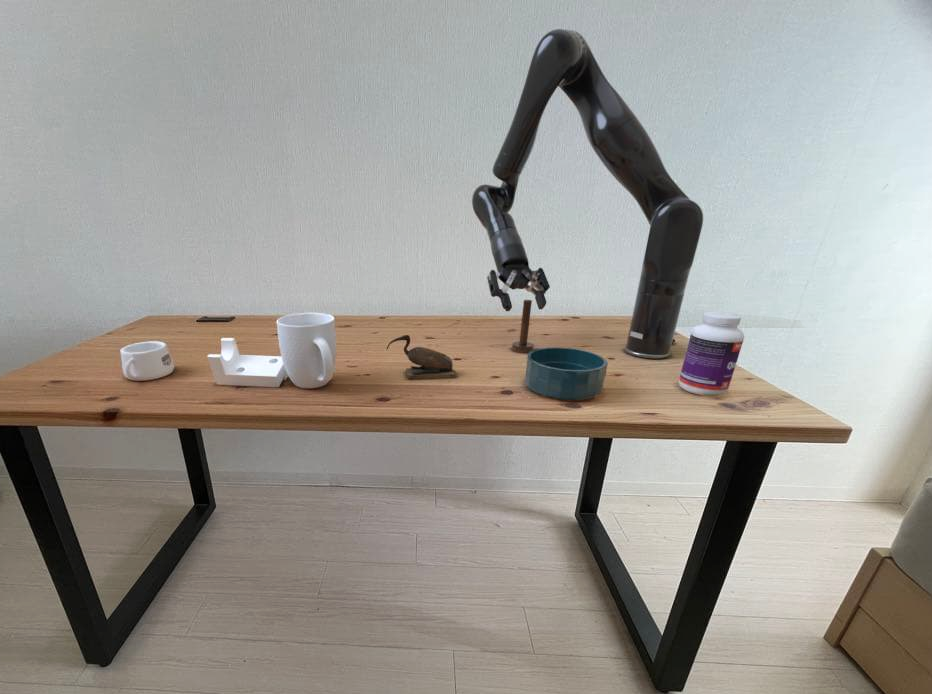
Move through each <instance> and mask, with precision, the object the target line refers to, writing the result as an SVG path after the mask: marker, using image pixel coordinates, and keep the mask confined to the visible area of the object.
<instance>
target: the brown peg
mask: <svg viewBox="0 0 932 694" xmlns="http://www.w3.org/2000/svg"><path fill="white" fill-rule="evenodd" d="M532 303H533V300H531V299H523V305H522V312H521V313H522V314H521V323H520V333H519V340H518V341H514V342H512V343H511V351H512V352H515V353H517V354H528V353H529V352H530V351H533V350H534V346H535V345H534V343H533V342H530V341H528V339H529V329H530V321H531V311H532Z"/></svg>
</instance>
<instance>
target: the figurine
mask: <svg viewBox="0 0 932 694" xmlns="http://www.w3.org/2000/svg"><path fill="white" fill-rule="evenodd" d="M399 341H406V343H405V345H404V347H403V352H404V354H405V356H406V357H407V359H408V360H409V362H410V363H412V364H414V366H412V365H411V366H410V367H407V368H405V373H406V376H407V378H408V379H407V380H422V379H423V380H424V379H425V380H426V379H427V380H428V379H452V378H456V373H455V372H454V369H453V365H454V364H453V360H452V359H451V357H449V356H448V355H446V354H445V353H442V352H440V351H437V350H434V349H430V348H428V347H423V346H416V347H413V348H410V350H408V347H409V346H410V344H411V337H410V335H409V334H404V335H402V336H399V337H397V338H394V339H393V340H391V341H389V343H388V345H387V346H386V350H389V347H390V346H391V345H392V344H393V343H395V342H399ZM415 365H417V366H415Z"/></svg>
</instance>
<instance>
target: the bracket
mask: <svg viewBox="0 0 932 694" xmlns="http://www.w3.org/2000/svg"><path fill="white" fill-rule="evenodd" d="M220 344H221V351H220V354H216V353H208V355H207V356H206V358H207V361H208V365H209V367H210V369H211V372H212V375H213V378H214V381H215V384H216V385H217V386H219V385H220V386H238V387H240V386H241V387H263V388H264V387H265V388H280V386H281V384H282V382H283V381H287V379H288V378H289V376H288V374H287V371H286V369H285V367H284V364H283V361H282V357H281V355H253V354H240V351H239V347H238V345H237V342H236V338H235V337H222V338H221V339H220Z"/></svg>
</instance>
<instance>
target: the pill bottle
mask: <svg viewBox="0 0 932 694" xmlns="http://www.w3.org/2000/svg"><path fill="white" fill-rule="evenodd" d="M741 319H742V316H741V315H740V314H737V313H732V312H726V311H715V310H714V311H705V312H704V313H703V316H702V323H701V324H698V325H695V326H693V328H692V330H691V332H690V335H689V339H688V343H687V347H686V351H685V355H684V358H683V363H682V365H681V370H680V374H679V378H678V380H677V381H678V385H679V387H680V388H681V389H682V390H684V391H686V392H688V393H691V394H695V395H699V396H705V397H719V396H723V395H724V394H727V392H728V391H729V388H730V387H731V386H730V385H731V382H732V378H733V375H734V372H735V369H736V365H737V363H738V359H739V356H740V353H741V350H742V346H743V343H744V339H745V333H744V332H743V331H742V330H741V329H740V328H739V327H738V326H739V325H740V323H741Z"/></svg>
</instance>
